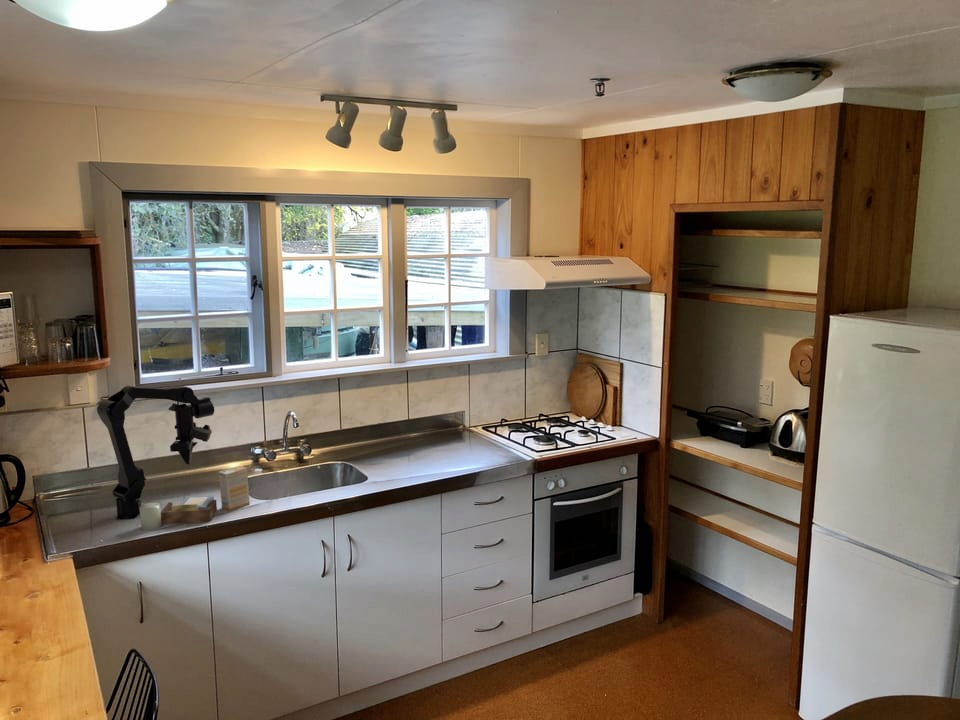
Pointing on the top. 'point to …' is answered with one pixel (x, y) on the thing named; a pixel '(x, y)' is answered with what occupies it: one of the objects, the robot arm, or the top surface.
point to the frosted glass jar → (150, 516)
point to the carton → (198, 501)
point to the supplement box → (234, 488)
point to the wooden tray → (187, 513)
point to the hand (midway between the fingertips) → (188, 464)
